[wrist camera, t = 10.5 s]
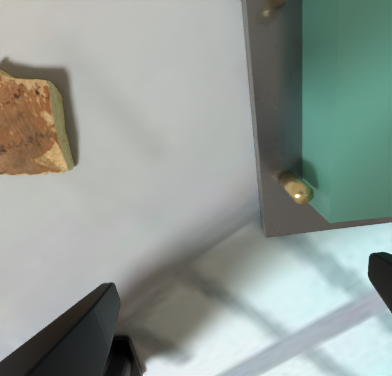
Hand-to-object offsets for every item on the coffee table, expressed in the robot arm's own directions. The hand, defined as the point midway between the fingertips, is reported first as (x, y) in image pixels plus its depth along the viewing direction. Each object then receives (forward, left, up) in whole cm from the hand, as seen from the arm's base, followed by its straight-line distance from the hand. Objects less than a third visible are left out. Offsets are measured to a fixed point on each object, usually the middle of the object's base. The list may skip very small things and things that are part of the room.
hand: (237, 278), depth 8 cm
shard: (+5, +15, -12) cm, 20 cm away
